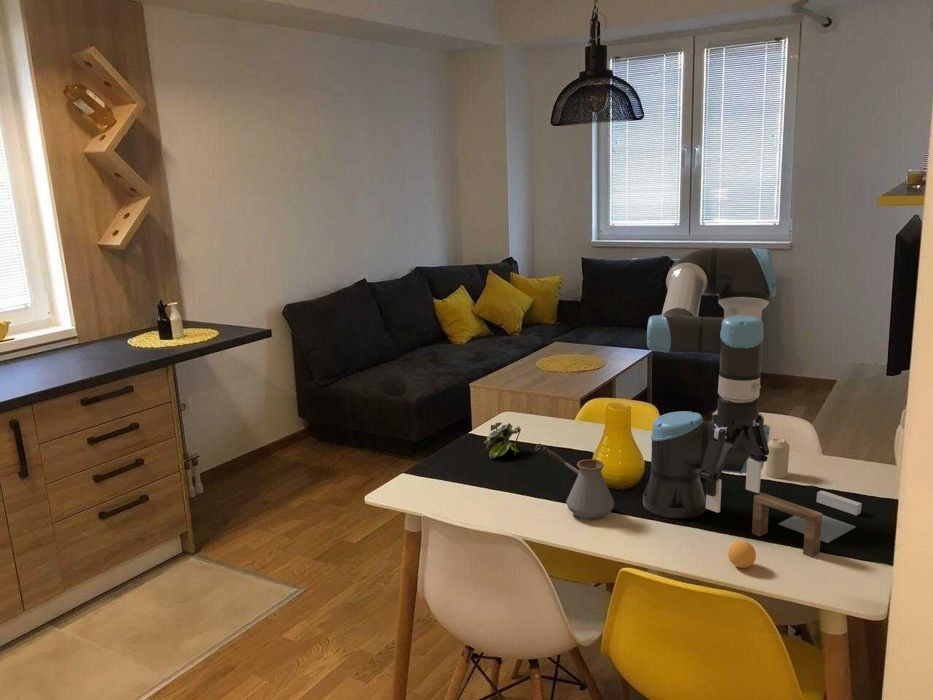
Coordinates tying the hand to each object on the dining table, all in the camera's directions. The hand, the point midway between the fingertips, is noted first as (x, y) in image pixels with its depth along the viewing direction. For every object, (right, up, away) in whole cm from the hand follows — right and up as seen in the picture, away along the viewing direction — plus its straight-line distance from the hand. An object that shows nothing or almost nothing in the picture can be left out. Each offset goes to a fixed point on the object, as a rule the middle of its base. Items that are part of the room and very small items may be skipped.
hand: (733, 500), depth 156 cm
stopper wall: (+37, -8, +35) cm, 52 cm away
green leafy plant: (-41, -1, +77) cm, 87 cm away
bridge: (+18, -13, +19) cm, 29 cm away
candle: (+30, -4, +56) cm, 64 cm away
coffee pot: (-26, -10, +39) cm, 48 cm away
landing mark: (+28, -11, +26) cm, 40 cm away
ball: (+5, -13, +9) cm, 16 cm away
